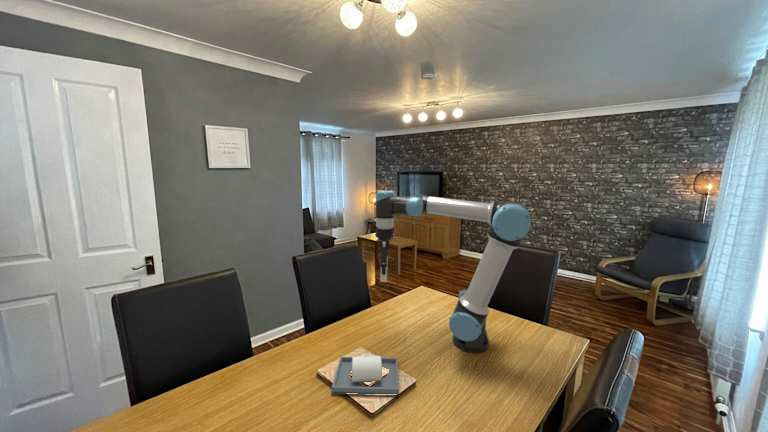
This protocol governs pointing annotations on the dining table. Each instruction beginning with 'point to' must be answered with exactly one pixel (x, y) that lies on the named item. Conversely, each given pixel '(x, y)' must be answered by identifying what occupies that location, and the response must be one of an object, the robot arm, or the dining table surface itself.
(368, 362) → the mug
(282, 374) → the dining table surface
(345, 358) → the tray
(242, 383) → the dining table surface
